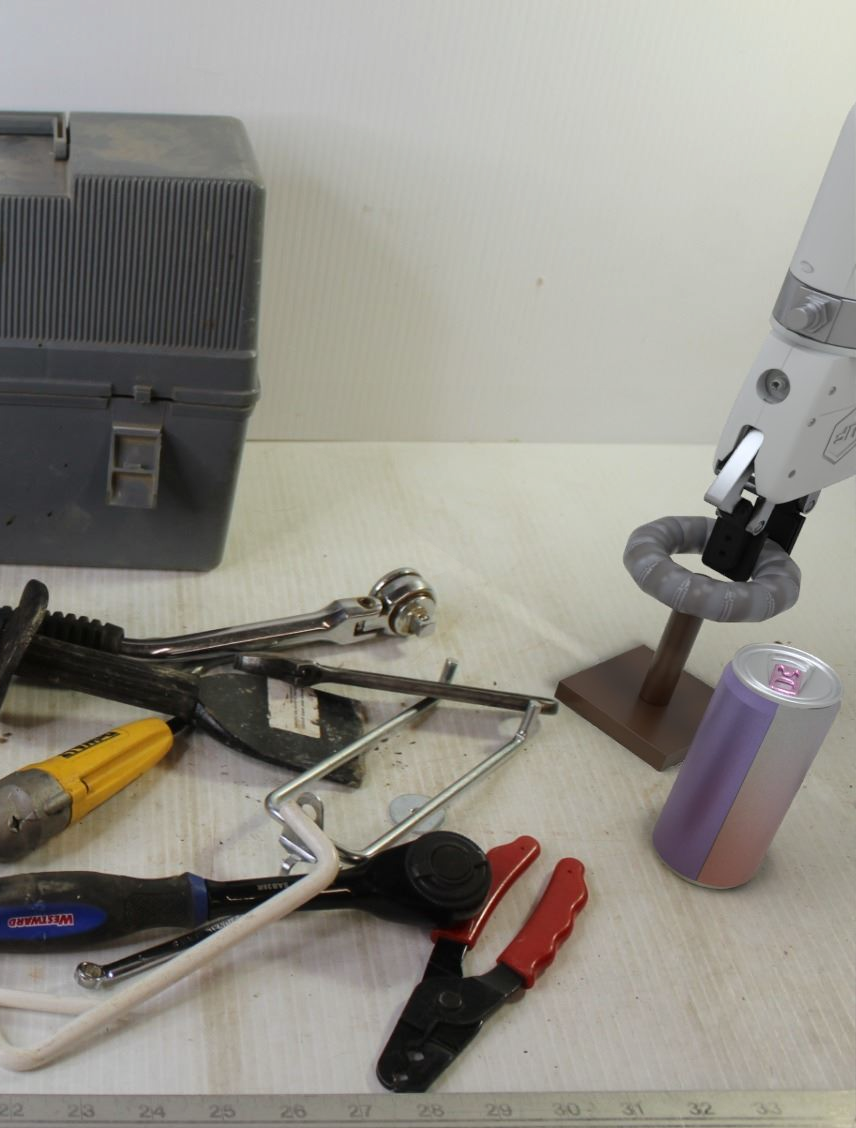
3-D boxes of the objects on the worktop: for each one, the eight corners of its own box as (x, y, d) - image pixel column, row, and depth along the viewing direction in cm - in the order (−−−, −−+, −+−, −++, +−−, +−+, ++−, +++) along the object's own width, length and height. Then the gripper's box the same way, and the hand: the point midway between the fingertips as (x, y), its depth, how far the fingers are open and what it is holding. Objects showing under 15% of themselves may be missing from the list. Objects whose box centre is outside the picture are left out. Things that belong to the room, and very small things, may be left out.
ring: (686, 525, 94) (698, 494, 93) (826, 600, 87) (841, 567, 85) (586, 567, 90) (596, 535, 88) (724, 649, 83) (738, 615, 81)
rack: (637, 659, 100) (687, 531, 93) (745, 729, 93) (807, 597, 87) (553, 696, 96) (598, 565, 90) (659, 771, 90) (717, 636, 83)
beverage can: (639, 867, 83) (722, 681, 74) (658, 811, 87) (738, 628, 78) (744, 909, 80) (843, 721, 71) (759, 848, 84) (853, 663, 75)
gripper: (821, 363, 73) (711, 630, 84) (993, 304, 79) (870, 559, 90) (701, 314, 78) (612, 570, 89) (871, 262, 85) (769, 508, 95)
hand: (742, 562), depth 90 cm, fingers closed on ring, 3 cm apart
